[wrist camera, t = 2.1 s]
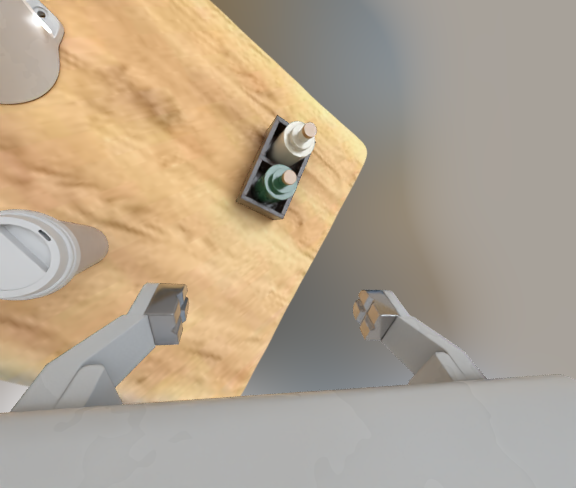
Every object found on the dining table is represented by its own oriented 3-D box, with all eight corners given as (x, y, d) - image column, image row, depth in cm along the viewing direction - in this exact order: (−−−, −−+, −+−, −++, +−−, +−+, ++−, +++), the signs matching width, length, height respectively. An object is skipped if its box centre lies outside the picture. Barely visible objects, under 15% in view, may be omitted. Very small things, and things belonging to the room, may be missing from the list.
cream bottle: (260, 151, 44) (285, 120, 31) (282, 138, 45) (314, 102, 32) (276, 176, 45) (306, 156, 32) (297, 162, 47) (333, 138, 34)
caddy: (273, 220, 46) (283, 219, 41) (235, 201, 43) (240, 197, 38) (303, 151, 48) (316, 141, 42) (268, 128, 45) (277, 114, 39)
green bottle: (245, 187, 43) (263, 169, 30) (267, 172, 44) (294, 149, 32) (261, 211, 45) (285, 204, 32) (282, 195, 46) (314, 183, 33)
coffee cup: (128, 265, 38) (84, 287, 24) (57, 283, 34) (-41, 321, 20) (108, 209, 36) (49, 198, 22) (33, 223, 33) (-92, 220, 19)
